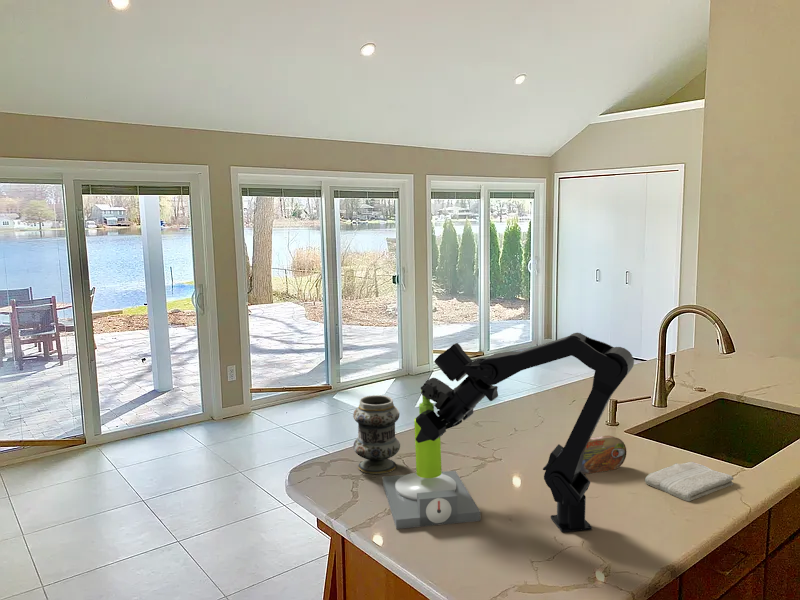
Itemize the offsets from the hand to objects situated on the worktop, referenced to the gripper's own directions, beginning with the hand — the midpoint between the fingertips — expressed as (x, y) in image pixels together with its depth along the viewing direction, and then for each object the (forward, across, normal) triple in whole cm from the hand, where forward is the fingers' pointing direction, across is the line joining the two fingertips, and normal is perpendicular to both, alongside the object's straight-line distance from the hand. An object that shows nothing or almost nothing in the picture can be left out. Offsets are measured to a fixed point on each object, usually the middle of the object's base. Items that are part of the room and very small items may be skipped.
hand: (423, 436), depth 147 cm
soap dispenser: (+5, 0, +7) cm, 9 cm away
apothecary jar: (+22, -7, -3) cm, 23 cm away
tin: (-13, -31, +32) cm, 47 cm away
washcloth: (-27, -33, +48) cm, 64 cm away
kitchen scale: (+7, +4, +12) cm, 14 cm away
